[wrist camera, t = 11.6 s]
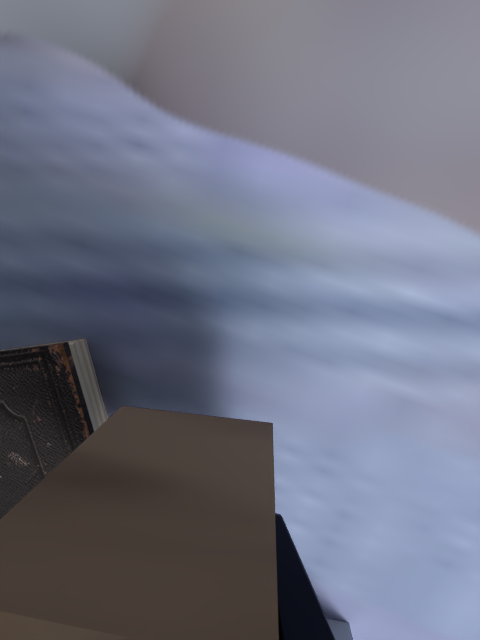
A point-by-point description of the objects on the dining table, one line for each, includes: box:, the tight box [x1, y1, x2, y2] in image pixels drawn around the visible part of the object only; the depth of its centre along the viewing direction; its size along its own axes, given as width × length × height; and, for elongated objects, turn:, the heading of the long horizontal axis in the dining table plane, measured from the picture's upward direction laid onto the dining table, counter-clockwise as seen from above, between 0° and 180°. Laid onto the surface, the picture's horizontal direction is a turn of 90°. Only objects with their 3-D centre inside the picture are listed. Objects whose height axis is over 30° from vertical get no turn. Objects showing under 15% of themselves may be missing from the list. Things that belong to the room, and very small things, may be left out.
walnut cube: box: [0, 406, 279, 640], centre depth 6 cm, size 5×5×5 cm
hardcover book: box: [0, 339, 108, 519], centre depth 14 cm, size 16×23×2 cm
